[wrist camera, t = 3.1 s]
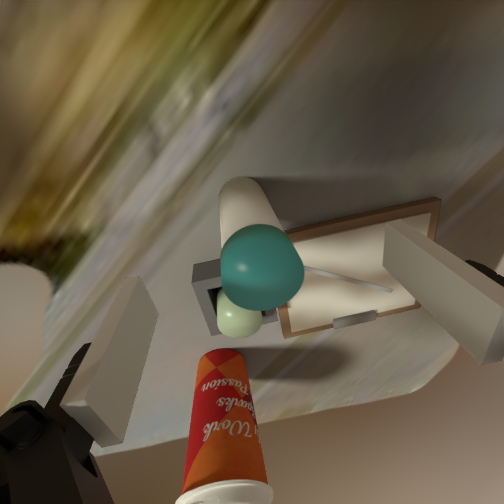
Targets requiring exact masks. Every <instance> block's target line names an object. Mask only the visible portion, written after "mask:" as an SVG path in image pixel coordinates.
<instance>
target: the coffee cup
mask: <svg viewBox="0 0 504 504" xmlns="http://www.w3.org/2000/svg"><path fill="white" fill-rule="evenodd" d="M272 499H273V489H272V488H271V487H270V486H269V485H268V482H267V476H266V470H265V465H264V460H263V454H262V449H261V444H260V438H259V433H258V427H257V422H256V416H255V411H254V406H253V400H252V395H251V390H250V385H249V379H248V374H247V369H246V365H245V361H244V358H243V356H242V355H241V354H240V353H239V352H237V351H235V350H231V349H216V350H213V351H210V352H208V353H206V354H205V355H204V356H203V357H202V358H201V359H200V361H199V365H198V370H197V377H196V384H195V392H194V400H193V408H192V415H191V423H190V431H189V440H188V448H187V457H186V464H185V472H184V481H183V488H182V495H181V496H180V498H178V500H177V501H176V503H175V504H271V501H272Z"/></svg>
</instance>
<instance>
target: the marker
mask: <svg viewBox="0 0 504 504" xmlns="http://www.w3.org/2000/svg"><path fill="white" fill-rule="evenodd" d="M219 208H220V227H221V246H222V251H221V256H220V263H221V284H222V289H223V291H224V293H225V295H226V296H227V298H228V299H229V300H230V301H231V302H232V303H234V304H235V305H237V306H239V307H241V308H244V309H247V310H252V311H265V310H270V309H274V308H277V307H279V306H281V305H283V304H285V303H286V302H288V301H289V300H291V299H292V298H293V297H294V296H295V295H296V294H297V292H298V291H299V289H300V288H301V286H302V284H303V281H304V275H305V270H304V265H303V262H302V260H301V258H300V256H299V254H298V252H297V251H296V249H295V247H294V245H293V243H292V241H291V239H290V238H289V237H288V235H287V234H286V233H285V232H284V230H283V228H282V226H281V224H280V222H279V220H278V218H277V217H276V215H275V213H274V211H273V209H272V207H271V205H270V203H269V201H268V199H267V198H266V196H265V194H264V192H263V190H262V188H261V186H260V185H259V184H258V183H257V182H256V181H255V180H253V179H251V178H248V177H236V178H233V179H231V180H229V181H228V182H227V183H226V184H225V185H224V186H223V187H222V189H221V191H220V194H219Z"/></svg>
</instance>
